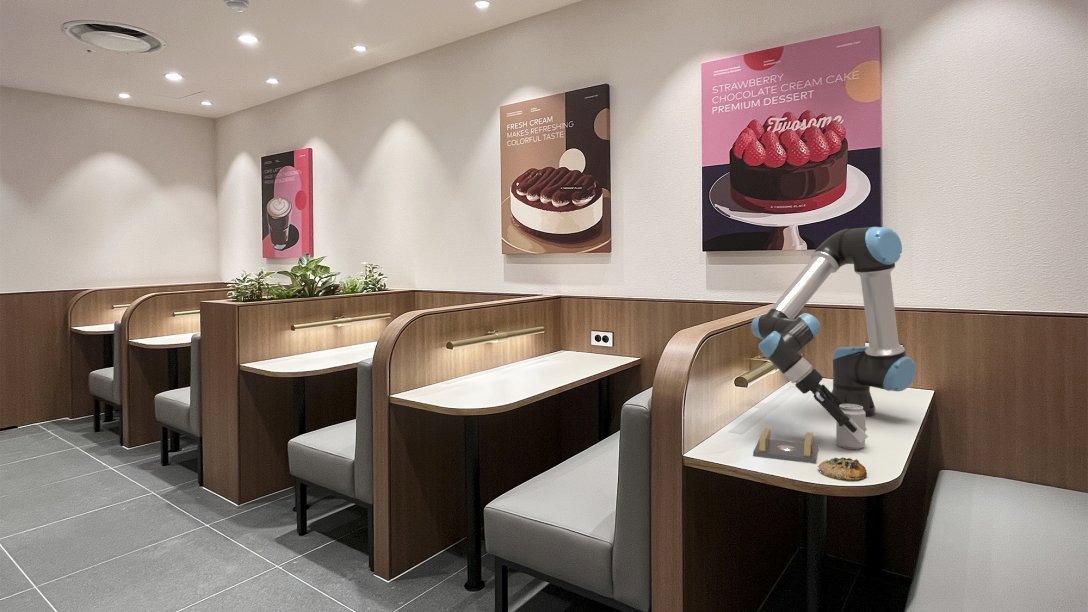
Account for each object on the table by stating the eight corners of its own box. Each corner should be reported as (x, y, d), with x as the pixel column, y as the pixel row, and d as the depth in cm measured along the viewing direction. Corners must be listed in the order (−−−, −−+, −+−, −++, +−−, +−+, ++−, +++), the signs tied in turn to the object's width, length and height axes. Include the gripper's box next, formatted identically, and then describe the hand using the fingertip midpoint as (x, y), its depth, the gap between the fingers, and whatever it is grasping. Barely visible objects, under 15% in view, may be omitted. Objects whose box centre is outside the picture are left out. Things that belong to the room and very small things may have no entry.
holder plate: (753, 455, 172) (753, 439, 171) (759, 442, 184) (759, 426, 184) (815, 463, 164) (816, 446, 164) (818, 448, 177) (818, 432, 177)
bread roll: (860, 467, 161) (860, 449, 160) (872, 488, 150) (872, 469, 149) (814, 466, 164) (814, 448, 162) (823, 487, 153) (823, 468, 152)
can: (830, 443, 182) (831, 403, 181) (855, 442, 182) (855, 402, 182) (845, 451, 174) (846, 409, 173) (870, 449, 175) (871, 408, 174)
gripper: (796, 378, 193) (853, 434, 187) (791, 391, 175) (853, 453, 169) (815, 362, 190) (873, 418, 184) (811, 373, 172) (876, 437, 166)
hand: (863, 435), depth 177 cm, fingers closed on can, 7 cm apart
